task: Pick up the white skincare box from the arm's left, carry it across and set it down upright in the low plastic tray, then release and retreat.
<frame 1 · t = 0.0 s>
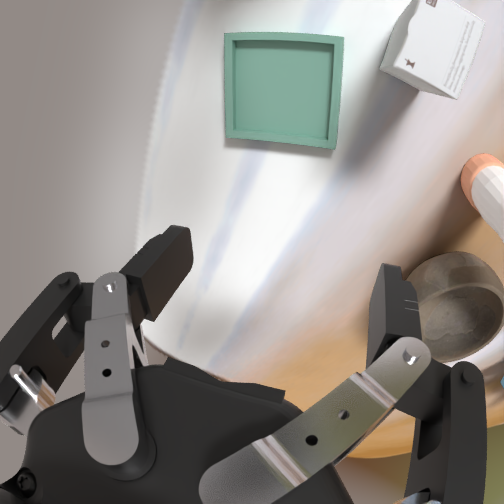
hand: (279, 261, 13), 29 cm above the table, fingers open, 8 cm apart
tray: (284, 86, 34), on the table
skincare box: (410, 50, 27), on the table
bowl: (444, 282, 43), on the table
salt shaker: (482, 178, 32), on the table
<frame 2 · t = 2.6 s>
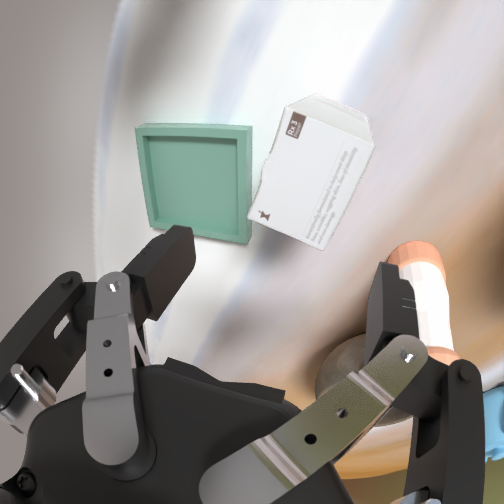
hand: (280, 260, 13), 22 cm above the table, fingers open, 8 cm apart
tray: (197, 178, 37), on the table
teapot: (493, 403, 45), on the table
skincare box: (327, 133, 30), on the table
bowl: (376, 352, 46), on the table
salt shaker: (414, 264, 35), on the table
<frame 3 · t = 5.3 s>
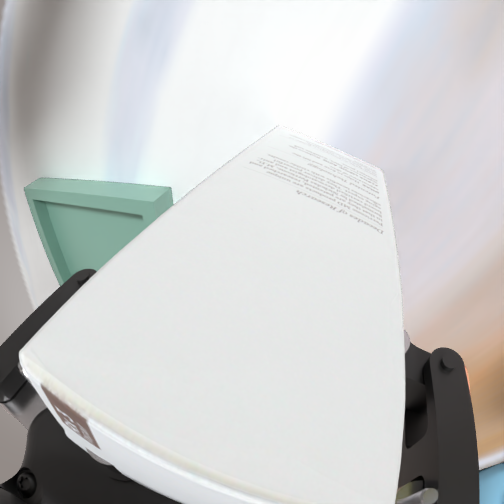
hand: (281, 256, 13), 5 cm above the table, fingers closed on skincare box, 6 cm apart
tray: (111, 257, 24), on the table
teapot: (499, 471, 32), on the table
skincare box: (303, 203, 17), on the table, touching gripper
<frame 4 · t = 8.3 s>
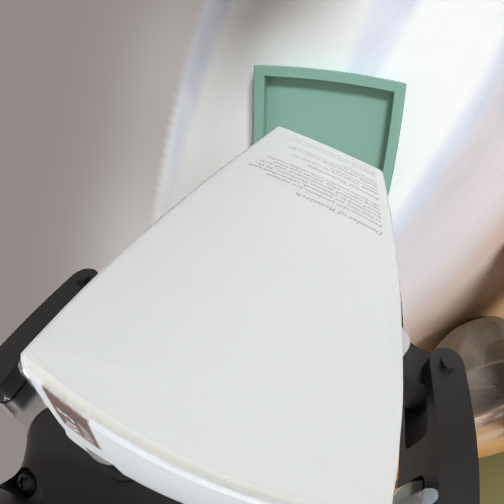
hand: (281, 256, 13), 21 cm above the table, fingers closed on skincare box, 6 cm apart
tray: (326, 137, 29), on the table
skincare box: (303, 203, 17), point 16 cm above the table, touching gripper
bowl: (472, 340, 38), on the table
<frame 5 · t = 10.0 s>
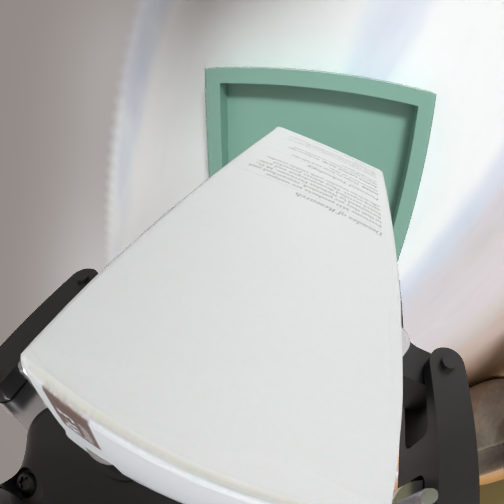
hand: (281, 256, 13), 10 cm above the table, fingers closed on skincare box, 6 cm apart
tray: (314, 170, 21), on the table
skincare box: (302, 204, 17), point 5 cm above the table, touching gripper
bowl: (483, 397, 29), on the table
when the fingers open (7 cm above the table, at t = 11.4 s): skincare box stays where it is, resting on tray.
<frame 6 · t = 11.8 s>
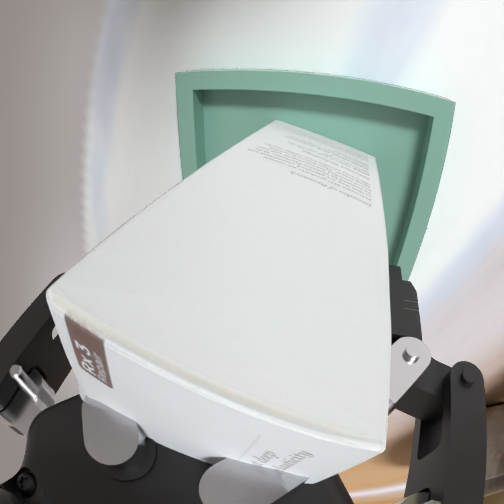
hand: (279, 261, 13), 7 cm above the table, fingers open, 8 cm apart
tray: (306, 191, 18), on the table
skincare box: (302, 192, 18), point 1 cm above the table, touching tray
bowl: (486, 420, 26), on the table
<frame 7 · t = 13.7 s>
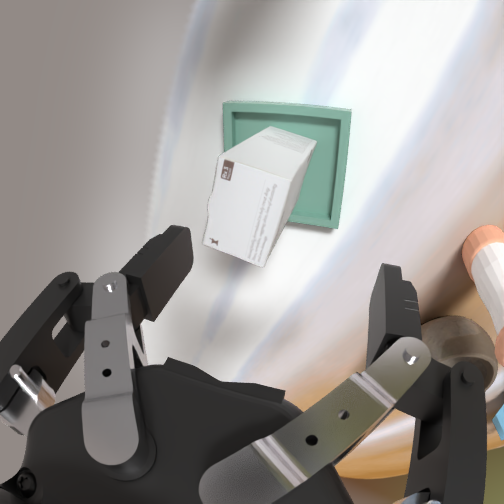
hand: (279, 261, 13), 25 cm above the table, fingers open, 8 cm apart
tray: (286, 160, 36), on the table
skincare box: (284, 160, 35), point 1 cm above the table, touching tray
bowl: (440, 338, 43), on the table
salt shaker: (484, 248, 33), on the table
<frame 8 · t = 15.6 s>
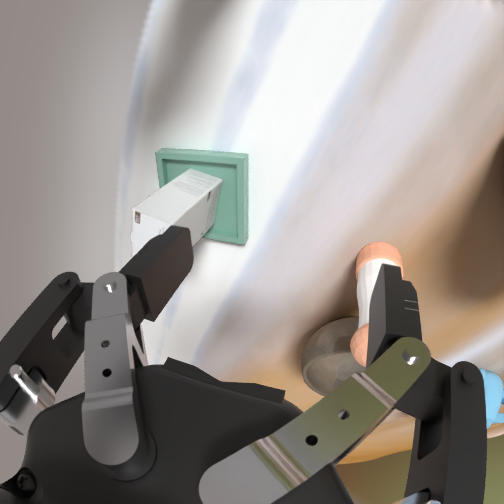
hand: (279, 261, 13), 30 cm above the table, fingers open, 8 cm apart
tray: (205, 192, 48), on the table
teapot: (467, 387, 56), on the table
skincare box: (202, 193, 47), point 1 cm above the table, touching tray
bowl: (353, 335, 56), on the table
salt shaker: (379, 261, 45), on the table
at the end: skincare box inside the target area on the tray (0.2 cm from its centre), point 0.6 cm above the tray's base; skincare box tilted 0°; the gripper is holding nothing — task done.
